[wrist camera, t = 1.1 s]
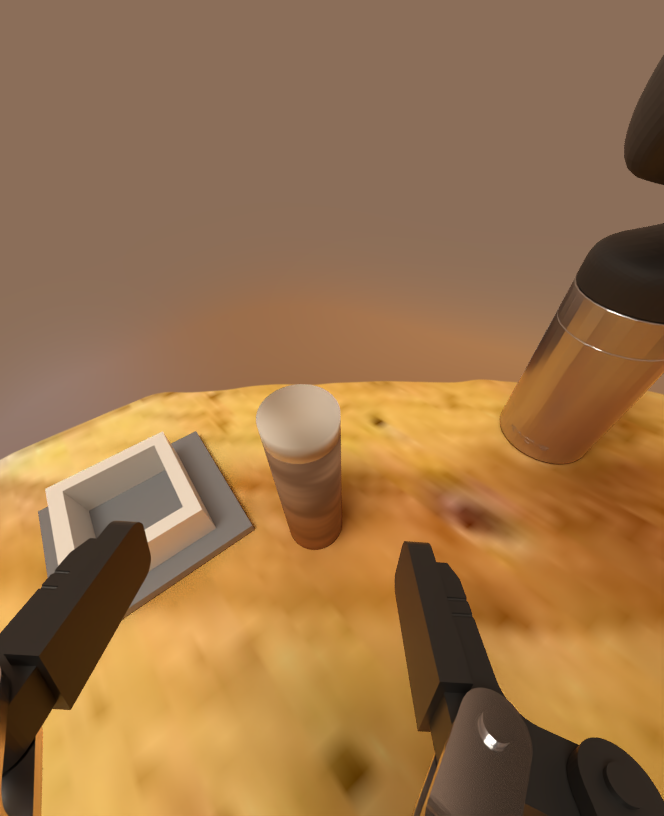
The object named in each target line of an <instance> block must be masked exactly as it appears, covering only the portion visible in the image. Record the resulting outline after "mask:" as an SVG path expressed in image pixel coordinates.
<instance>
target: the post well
mask: <svg viewBox="0 0 664 816" xmlns="http://www.w3.org/2000/svg"><path fill="white" fill-rule="evenodd" d="M45 491H46V497H47V502H48V507H46V508H44V509H42V510H40V511H38V514H39V521H40V528H41V534H42V541H43V548H44V555H45V562H46V569H47V575H48V577H49V576H50V575H51V574H53V573H54V572H55V569H56V568H57V567H58V566H59V565H60V563H61V562H62V561H63V560H64V559H65V558H66V556H67V555H68V554H69V553H70V552H71V551H73V550H74V549H75V548H77V547H78V546H80V545H81V544H82V543H84V542H85V541H86V540H88V539H89V538H98V536H99V535H100V534H101V533H102V532H103V530H104V529H105V528H106V527H107V525H108V524H109V523H111V522H112V521H130V522H141V523H142V524H143V526H144V530H145V534H146V538H147V542H148V546H149V550H150V554H151V564H150V569H149V572H148V574H147V577H146V579H145V580H144V582H143V584H142V586H141V587H140V589H139V591H138V593H137V594H136V596H135V598H134V600H133V601H132V603H131V605H130V607H129V608H128V610H127V612H126V614H125V615H124V617H123V618H125V617H126V616H128V615H129V614H131V613H132V612H134V611H135V610H137V609H138V608H139V607H141V606H142V605H144V604H145V603H147V602H148V601H150V600H151V599H153V598H154V597H156V596H157V595H159V594H160V593H162V592H163V591H165V590H166V589H168V588H169V587H170V586H172V585H173V584H175V583H176V582H178V581H179V580H181V579H182V578H184V577H185V576H187V575H188V574H190V573H191V572H193V571H194V570H196V569H197V568H198V567H200V566H201V565H203V564H204V563H206V562H207V561H209V560H210V559H212V558H213V557H215V556H216V555H218V554H219V553H221V552H222V551H224V550H225V549H227V548H228V547H229V546H231V545H232V544H234V543H235V542H237V541H238V540H240V539H241V538H243V537H244V536H246V535H247V534H249V533H250V532H252V531H253V530H254V528H253V526H252V524H251V522H250V521H249V519H248V517H247V516H246V514H245V512H244V511H243V509H242V507H241V506H240V504H239V502H238V501H237V499H236V497H235V496H234V494H233V492H232V491H231V489H230V487H229V486H228V484H227V482H226V481H225V479H224V477H223V476H222V474H221V472H220V471H219V469H218V467H217V466H216V464H215V462H214V461H213V459H212V457H211V456H210V454H209V452H208V451H207V449H206V447H205V446H204V444H203V442H202V441H201V439H200V437H199V435H198V434H197V432H196V431H195V432H193V433H191V434H189V435H187V436H185V437H183V438H181V439H179V440H178V441H176V442H174V443H172V444H171V443H170V442H169V440H168V439H167V437H166V436H165V434H164V433H163V431H162V432H160V433H158V434H156V435H154V436H152V437H150V438H148V439H146V440H144V441H142V442H140V443H138V444H136V445H134V446H132V447H130V448H128V449H126V450H124V451H122V452H120V453H118V454H115V455H113V456H111V457H109V458H107V459H105V460H103V461H101V462H99V463H97V464H95V465H93V466H91V467H89V468H87V469H85V470H83V471H81V472H79V473H77V474H75V475H73V476H71V477H69V478H66V479H64V480H62V481H60V482H58V483H56V484H54V485H52V486H50V487H48V488H46V489H45Z"/></svg>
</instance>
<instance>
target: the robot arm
mask: <svg viewBox="0 0 664 816" xmlns="http://www.w3.org/2000/svg"><path fill="white" fill-rule="evenodd" d="M624 158H625V162H626V165H627V168H628V169H629V170H630V171H631V172H632V173H633V174H634V175H635V176H637V177H638V178H641V179H644V180H647V181H650V182H654V183H658V184H662V185H664V55H663V57H662V58H661V60H660V62H659V63H658V65H657V67H656V69H655V70H654V72H653V74H652V76H651V78H650V79H649V81H648V83H647V85H646V87H645V89H644V91H643V93H642V95H641V97H640V99H639V101H638V103H637V105H636V108H635V110H634V113H633V116H632V118H631V121H630V124H629V127H628V131H627V134H626V139H625V145H624ZM663 373H664V223H663V224H658V225H653V226H648V227H643V228H637V229H632V230H627V231H622V232H619V233H615V234H612V235H610V236H608V237H606V238H604V239H602V240H600V241H599V242H598V243H596V245H595V246H594V247H593V248H592V249H591V250H590V252H589V253H588V255H587V256H586V258H585V260H584V262H583V264H582V265H581V267H580V269H579V271H578V273H577V275H576V277H575V279H574V281H573V282H572V284H571V286H570V288H569V290H568V292H567V293H566V295H565V297H564V299H563V301H562V303H561V304H560V306H559V309H558V310H557V312H556V314H555V316H554V318H553V320H552V321H551V323H550V325H549V327H548V329H547V330H546V332H545V334H544V336H543V338H542V340H541V341H540V343H539V345H538V347H537V349H536V351H535V352H534V354H533V356H532V358H531V360H530V362H529V364H528V366H527V367H526V369H525V371H524V373H523V375H522V376H521V378H520V380H519V382H518V384H517V385H516V387H515V389H514V391H513V392H512V394H511V396H510V398H509V400H508V402H507V404H506V405H505V407H504V409H503V411H502V413H501V416H500V425H501V429H502V431H503V433H504V435H505V436H506V438H507V439H508V440H509V441H510V442H511V444H513V445H514V446H515V447H516V448H517V449H519V450H520V451H522V452H523V453H525V454H526V455H528V456H530V457H533V458H535V459H537V460H540V461H544V462H547V463H555V464H566V463H571V462H574V461H576V460H578V459H580V458H581V457H582V456H583V455H584V454H585V453H586V452H587V451H588V450H589V449H590V448H591V447H592V446H593V445H594V444H595V443H596V442H597V441H598V440H599V439H600V438H601V437H602V436H603V435H604V434H605V433H606V432H607V431H608V430H609V429H610V428H611V427H612V426H613V425H614V424H615V423H616V422H617V421H618V420H619V419H620V418H621V417H622V416H623V415H624V414H625V413H626V412H627V411H628V410H629V409H630V407H631V406H632V405H633V404H634V403H635V402H636V401H637V400H638V399H639V398H640V397H641V396H642V395H643V394H644V393H645V392H646V391H647V390H648V389H649V388H650V387H651V386H652V385H653V384H654V383H655V382H656V381H657V380H658V378H660V377H661V375H662V374H663ZM150 564H151V554H150V550H149V546H148V542H147V538H146V534H145V530H144V526H143V524H142V523H141V522H130V521H112V522H111V523H109V524H108V525H107V527H106V528H105V529H104V530H103V532H102V533H101V534H100V535H99V536H98V538H89V539H88V540H86V541H85V542H84V543H82V544H81V545H80V546H78V547H77V548H75V549H74V550H73V551H71V552H70V553H69V554H68V555H67V556H66V558H65V559H64V560H63V561H62V562H61V563H60V565H59V566H58V567H57V568H56V569H55V572H54V573H53V574H51V575H50V576H49V577H48V578H47V580H46V581H45V582H44V583H43V584H42V587H41V589H38V590H37V591H36V592H35V594H34V595H33V596H32V597H31V598H30V599H29V601H28V602H27V603H26V604H25V605H24V606H23V608H22V609H21V610H20V611H19V612H18V613H17V614H16V616H15V617H14V618H13V619H12V620H11V621H10V623H9V624H8V625H7V626H6V627H5V628H4V630H3V631H2V632H1V633H0V816H41V804H42V753H43V729H42V725H43V723H44V722H45V720H46V718H47V717H48V715H49V713H50V712H51V710H52V709H64V710H71V708H72V707H73V705H74V703H75V701H76V700H77V698H78V696H79V694H80V693H81V691H82V689H83V687H84V686H85V684H86V682H87V680H88V679H89V677H90V675H91V673H92V672H93V670H94V668H95V666H96V665H97V663H98V661H99V659H100V658H101V656H102V654H103V652H104V651H105V649H106V647H107V645H108V643H109V642H110V640H111V638H112V636H113V635H114V633H115V631H116V629H117V628H118V626H119V624H120V622H121V621H122V619H123V617H124V615H125V614H126V612H127V610H128V608H129V607H130V605H131V603H132V601H133V600H134V598H135V596H136V594H137V593H138V591H139V589H140V587H141V586H142V584H143V582H144V580H145V579H146V577H147V574H148V572H149V569H150ZM395 595H396V601H397V607H398V613H399V619H400V626H401V632H402V638H403V644H404V650H405V656H406V662H407V668H408V674H409V680H410V686H411V692H412V698H413V704H414V710H415V717H416V723H417V729H418V731H424V732H431V734H432V740H433V745H434V750H435V753H434V755H433V758H432V761H431V764H430V766H429V769H428V772H427V775H426V777H425V780H424V783H423V786H422V788H421V791H420V794H419V797H418V799H417V802H416V805H415V808H414V810H413V813H412V816H664V801H663V799H662V797H661V795H660V793H659V792H658V790H657V788H656V787H655V785H654V783H653V782H652V780H651V779H650V778H649V776H648V775H647V774H646V772H645V771H644V770H643V769H642V768H641V766H640V765H639V764H638V763H637V762H636V761H635V760H634V759H633V758H632V757H631V756H630V755H628V754H627V753H626V752H625V751H624V750H622V749H621V748H619V747H618V746H616V745H615V744H613V743H611V742H609V741H607V740H604V739H601V738H588V739H586V740H584V741H583V742H582V743H581V744H580V745H578V744H575V743H573V742H571V741H569V740H567V739H564V738H562V737H560V736H558V735H556V734H553V733H551V732H549V731H547V730H544V729H542V728H540V727H538V726H536V725H534V724H533V723H531V722H530V721H528V720H527V719H525V718H524V717H523V716H522V715H521V714H519V712H518V711H517V710H516V709H515V707H514V706H513V705H512V704H511V703H510V702H509V701H508V700H507V699H506V697H505V696H504V694H503V693H502V691H501V689H500V687H499V685H498V683H497V681H496V678H495V675H494V672H493V670H492V667H491V664H490V661H489V659H488V656H487V653H486V650H485V648H484V645H483V642H482V639H481V637H480V634H479V631H478V628H477V626H476V623H475V620H474V618H473V617H472V612H471V609H470V606H469V604H468V602H467V601H466V595H465V593H464V590H463V587H462V584H461V581H460V579H459V578H458V576H457V575H456V574H455V573H454V571H453V570H452V569H451V567H450V566H449V565H448V564H447V563H439V562H436V560H435V557H434V554H433V551H432V548H431V545H430V544H429V543H423V542H408V541H404V543H403V545H402V549H401V553H400V557H399V561H398V565H397V569H396V573H395Z"/></svg>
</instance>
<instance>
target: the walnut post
mask: <svg viewBox="0 0 664 816" xmlns="http://www.w3.org/2000/svg"><path fill="white" fill-rule="evenodd" d="M256 424H257V428H258V431H259V434H260V437H261V440H262V443H263V447H264V450H265V453H266V456H267V459H268V462H269V466H270V469H271V472H272V475H273V478H274V481H275V485H276V488H277V491H278V494H279V497H280V500H281V504H282V507H283V510H284V513H285V516H286V519H287V523H288V526H289V529H290V532H291V535H292V537H293V539H294V540H295V541H296V542H297V543H298V544H299V545H300V546H302V547H304V548H307V549H311V550H318V549H323V548H325V547H327V546H329V545H331V544H332V543H333V542H334V541H335V540H336V539H337V537H338V536H339V534H340V531H341V527H342V501H341V428H340V408H339V404H338V402H337V400H336V399H335V398H334V397H333V395H332V394H330V393H329V392H328V391H326V390H324V389H322V388H320V387H317V386H313V385H307V384H297V385H290V386H286V387H283V388H281V389H279V390H276V391H275V392H273V393H272V394H270V395H269V396H268V397H267V398H265V400H264V401H263V402H262V403H261V405H260V406H259V408H258V411H257V415H256Z"/></svg>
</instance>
